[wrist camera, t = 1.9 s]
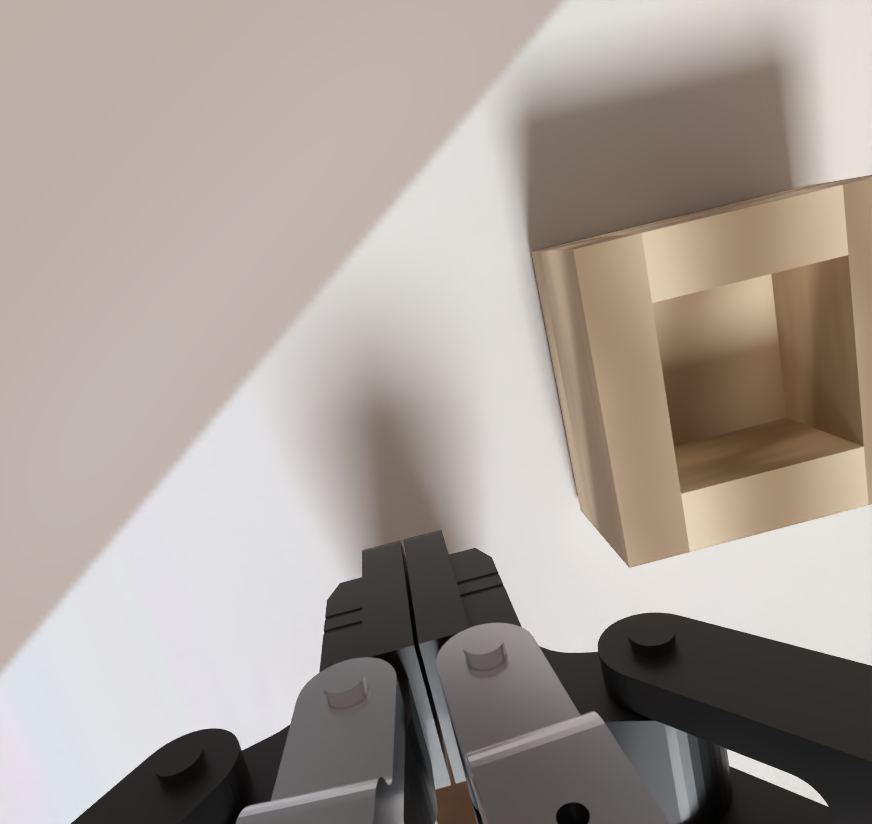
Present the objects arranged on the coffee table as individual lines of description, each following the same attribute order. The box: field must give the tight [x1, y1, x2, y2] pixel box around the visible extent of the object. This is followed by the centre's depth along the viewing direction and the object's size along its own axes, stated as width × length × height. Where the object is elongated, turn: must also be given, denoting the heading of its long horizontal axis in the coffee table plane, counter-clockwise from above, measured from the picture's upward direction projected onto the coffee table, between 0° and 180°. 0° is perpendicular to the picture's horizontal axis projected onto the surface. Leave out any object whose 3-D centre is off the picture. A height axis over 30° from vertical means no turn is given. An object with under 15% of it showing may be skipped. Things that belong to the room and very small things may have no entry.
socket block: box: [531, 175, 872, 568], centre depth 23 cm, size 10×10×5 cm
